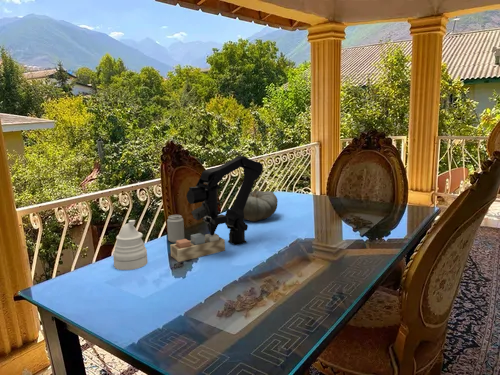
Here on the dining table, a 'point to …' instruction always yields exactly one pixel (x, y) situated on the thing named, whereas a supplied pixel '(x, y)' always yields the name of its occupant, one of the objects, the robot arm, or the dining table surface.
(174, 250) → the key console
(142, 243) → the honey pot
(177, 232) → the can
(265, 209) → the gourd
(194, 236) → the slate key
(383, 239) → the dining table surface
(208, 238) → the ivory key
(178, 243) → the salmon rounded block
